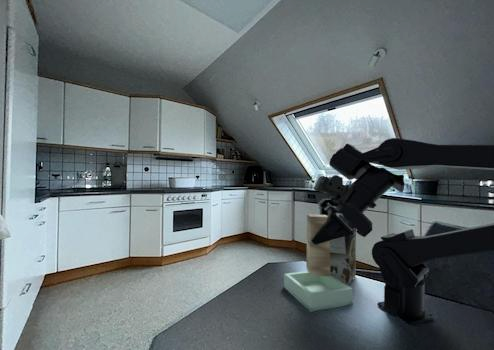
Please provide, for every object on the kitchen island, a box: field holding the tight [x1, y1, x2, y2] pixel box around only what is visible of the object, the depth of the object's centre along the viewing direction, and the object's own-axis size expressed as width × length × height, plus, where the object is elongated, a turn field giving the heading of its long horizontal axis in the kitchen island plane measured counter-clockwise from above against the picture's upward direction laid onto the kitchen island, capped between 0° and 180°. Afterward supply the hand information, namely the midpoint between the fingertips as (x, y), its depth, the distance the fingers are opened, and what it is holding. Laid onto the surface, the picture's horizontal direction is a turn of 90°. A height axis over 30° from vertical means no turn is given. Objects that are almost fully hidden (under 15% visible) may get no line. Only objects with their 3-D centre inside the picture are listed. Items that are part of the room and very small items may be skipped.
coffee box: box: [330, 228, 357, 287], centre depth 57 cm, size 9×6×16 cm
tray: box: [283, 270, 354, 312], centre depth 47 cm, size 10×10×3 cm
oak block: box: [305, 213, 330, 276], centre depth 47 cm, size 4×4×12 cm
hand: (311, 240), depth 48 cm, fingers closed on oak block, 4 cm apart
